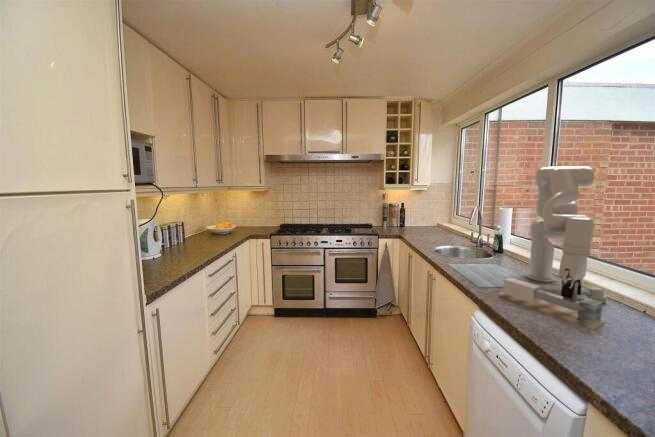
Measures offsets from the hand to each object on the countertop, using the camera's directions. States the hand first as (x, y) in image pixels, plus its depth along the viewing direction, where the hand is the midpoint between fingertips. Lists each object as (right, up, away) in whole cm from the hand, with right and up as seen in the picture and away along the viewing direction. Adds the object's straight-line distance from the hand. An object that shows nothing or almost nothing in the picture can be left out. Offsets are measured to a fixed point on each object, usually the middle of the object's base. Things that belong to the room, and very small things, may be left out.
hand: (570, 295), depth 103 cm
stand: (-3, -8, +8) cm, 11 cm away
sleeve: (-8, -5, +16) cm, 19 cm away
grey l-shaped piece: (-2, -5, +4) cm, 6 cm away
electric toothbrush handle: (+15, -6, +18) cm, 24 cm away
